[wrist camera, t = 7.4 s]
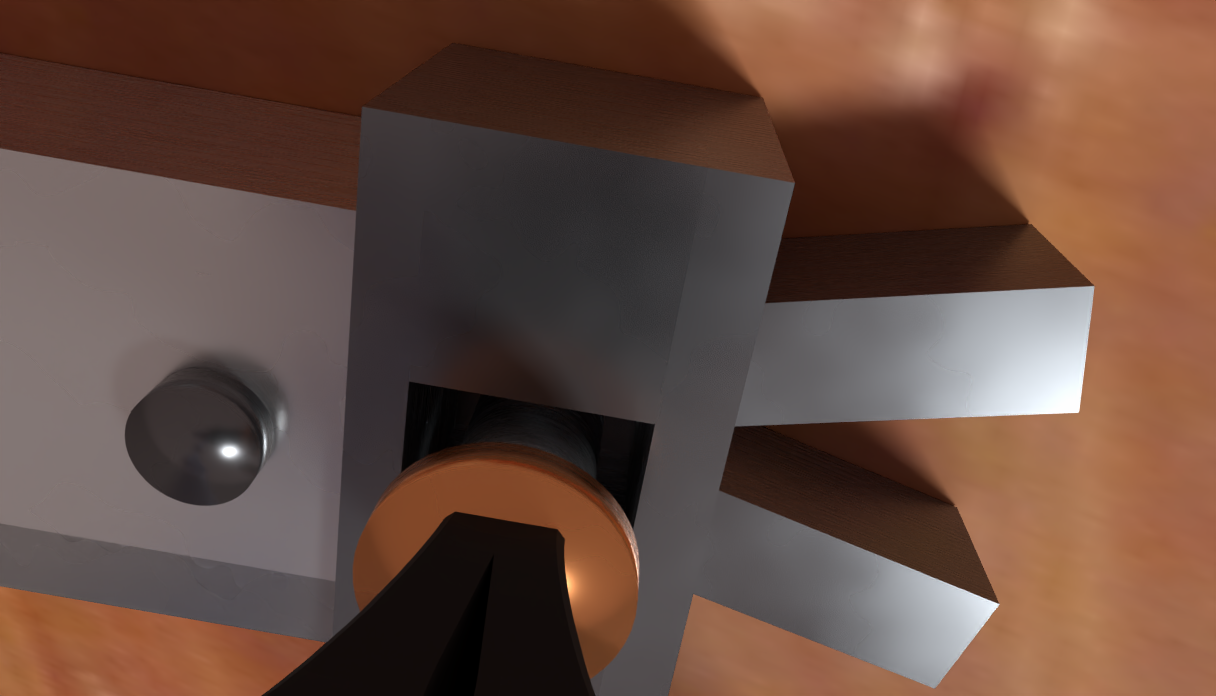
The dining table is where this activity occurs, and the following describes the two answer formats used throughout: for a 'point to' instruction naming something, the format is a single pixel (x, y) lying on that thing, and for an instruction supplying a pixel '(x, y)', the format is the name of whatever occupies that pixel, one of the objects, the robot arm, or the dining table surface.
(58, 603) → the dining table surface
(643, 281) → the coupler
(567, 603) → the robot arm
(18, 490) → the block
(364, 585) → the pin
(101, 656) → the dining table surface
